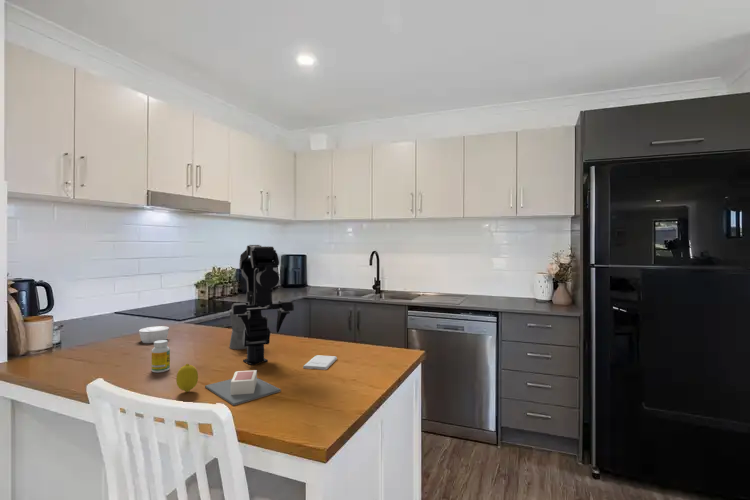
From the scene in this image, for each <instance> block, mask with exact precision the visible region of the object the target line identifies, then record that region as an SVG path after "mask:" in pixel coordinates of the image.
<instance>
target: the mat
mask: <svg viewBox="0 0 750 500" xmlns="http://www.w3.org/2000/svg"><path fill="white" fill-rule="evenodd" d="M231 380H232V378H229V379H226V380H221V381H218V382H214V383H209V384H207V385H206V384H205V385H204V387H205V389H207V390H208V391H210V392H212V393H213V394H215V395H216V396H218V397H219V398H221V399H222V400H224V401H226V402H227V403H229V404H230V405H232V406H237V405H240V404H244V403H247V402H250V401H254V400H258V399H261V398H263V397H267V396H270V395H274V394H277V393H281V392H282V389H281V388H279V387H277V386H275V385H273V384H271V383H268V382H267V381H264V380H262V379H261V378H258V377H257V383H256V387H255V390H254V393H252V394H238V395H231Z"/></svg>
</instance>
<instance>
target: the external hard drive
mask: <svg viewBox="0 0 750 500" xmlns="http://www.w3.org/2000/svg"><path fill="white" fill-rule="evenodd" d="M337 359H338V358H337V356H335V355H319V354H317V355H314V357H312V358H311V359H309V361H308V362H306V363H305V364H304V365H303V367H302V368H303V369H309V370H310V369H311V370H313V369H314V370H322V371H323V370H325V371H326V370H328V369H329V368H330V367H331V366H332V364H334V362H336V361H337Z"/></svg>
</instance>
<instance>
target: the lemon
mask: <svg viewBox="0 0 750 500" xmlns="http://www.w3.org/2000/svg"><path fill="white" fill-rule="evenodd" d="M175 381H176V385H177V387H178V388H179V389H180V390H182V391H184V392H185V393H189V392H190V391H191V390H193V389H194V388H195V387H196V386H197V384H198V381H199V373H198V370H197V368H196V366H194V365H192V364H189V363H186V364H185V365H183V366H181V367H180V368H179V369H178V371H177V374H176V380H175Z"/></svg>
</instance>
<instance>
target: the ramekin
mask: <svg viewBox="0 0 750 500" xmlns="http://www.w3.org/2000/svg"><path fill="white" fill-rule="evenodd" d="M169 331H170V327H169V326H165V325H162V326H161V325H160V326H159V325H158V326H156V325H155V326H149V327H148V326H147V327H143V328H140V329H139V330H138V333H139V337H140V341H141V343H143V344H154V342H155V341H159V340H167V339H168V335H169Z"/></svg>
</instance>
